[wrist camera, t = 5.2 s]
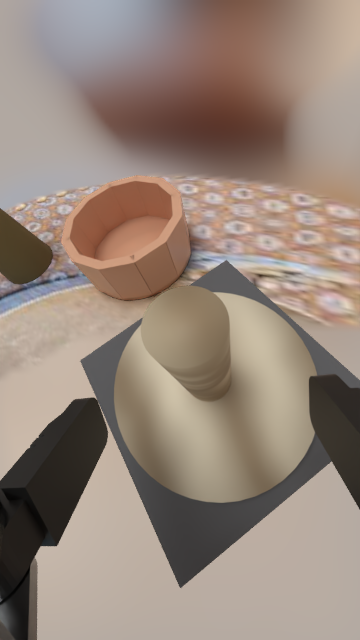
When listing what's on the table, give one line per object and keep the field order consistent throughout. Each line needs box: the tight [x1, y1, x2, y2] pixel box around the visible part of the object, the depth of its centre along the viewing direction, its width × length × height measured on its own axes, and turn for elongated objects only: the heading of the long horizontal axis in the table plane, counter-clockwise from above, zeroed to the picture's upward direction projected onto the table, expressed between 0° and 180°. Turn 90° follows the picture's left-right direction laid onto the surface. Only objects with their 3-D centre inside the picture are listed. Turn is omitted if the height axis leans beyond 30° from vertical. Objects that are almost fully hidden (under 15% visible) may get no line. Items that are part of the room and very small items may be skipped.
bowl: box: [61, 175, 191, 300], centre depth 23 cm, size 11×11×5 cm
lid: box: [114, 286, 317, 503], centre depth 13 cm, size 14×14×10 cm
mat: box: [81, 260, 360, 588], centre depth 17 cm, size 16×16×1 cm
